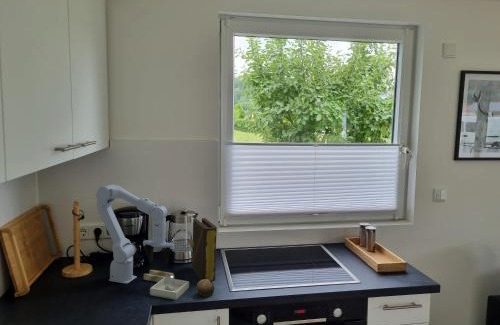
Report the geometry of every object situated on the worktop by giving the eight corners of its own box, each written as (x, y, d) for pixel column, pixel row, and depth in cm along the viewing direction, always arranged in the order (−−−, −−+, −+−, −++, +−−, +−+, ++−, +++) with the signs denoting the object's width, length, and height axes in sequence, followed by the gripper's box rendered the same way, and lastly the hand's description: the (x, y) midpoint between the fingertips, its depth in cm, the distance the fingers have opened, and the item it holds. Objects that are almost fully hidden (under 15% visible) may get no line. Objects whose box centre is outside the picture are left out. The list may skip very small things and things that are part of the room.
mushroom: (193, 282, 163) (199, 274, 160) (209, 287, 166) (216, 279, 163) (192, 298, 157) (199, 289, 154) (209, 303, 159) (216, 294, 157)
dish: (150, 295, 157) (150, 288, 156) (164, 284, 168) (164, 277, 168) (176, 299, 154) (176, 292, 153) (188, 288, 165) (188, 281, 165)
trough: (143, 279, 172) (143, 274, 172) (150, 274, 178) (150, 269, 178) (167, 283, 169) (167, 278, 169) (173, 278, 175) (173, 273, 174)
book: (218, 280, 174) (220, 227, 172) (201, 282, 171) (202, 229, 169) (204, 264, 194) (205, 216, 192) (188, 266, 191) (189, 217, 188)
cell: (163, 291, 159) (163, 275, 159) (167, 287, 163) (167, 272, 163) (171, 292, 158) (171, 276, 158) (176, 288, 162) (176, 273, 161)
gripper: (139, 233, 165) (139, 263, 166) (169, 237, 161) (168, 268, 162) (148, 229, 172) (147, 258, 173) (177, 233, 168) (176, 262, 169)
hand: (158, 262), depth 168 cm, fingers open, 7 cm apart
